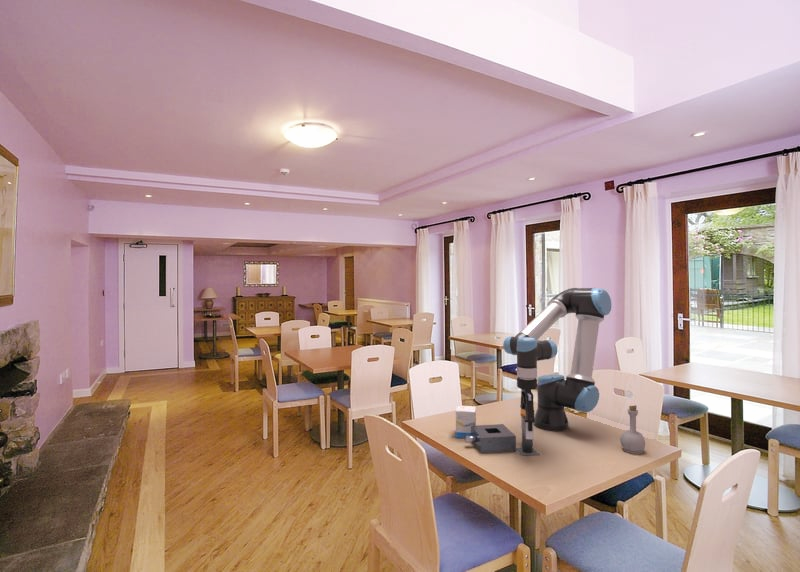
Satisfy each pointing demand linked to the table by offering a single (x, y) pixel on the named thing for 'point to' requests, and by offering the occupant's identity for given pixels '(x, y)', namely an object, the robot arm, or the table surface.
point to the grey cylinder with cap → (526, 443)
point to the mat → (527, 453)
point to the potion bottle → (632, 435)
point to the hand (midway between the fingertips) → (527, 433)
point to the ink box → (465, 420)
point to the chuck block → (492, 438)
